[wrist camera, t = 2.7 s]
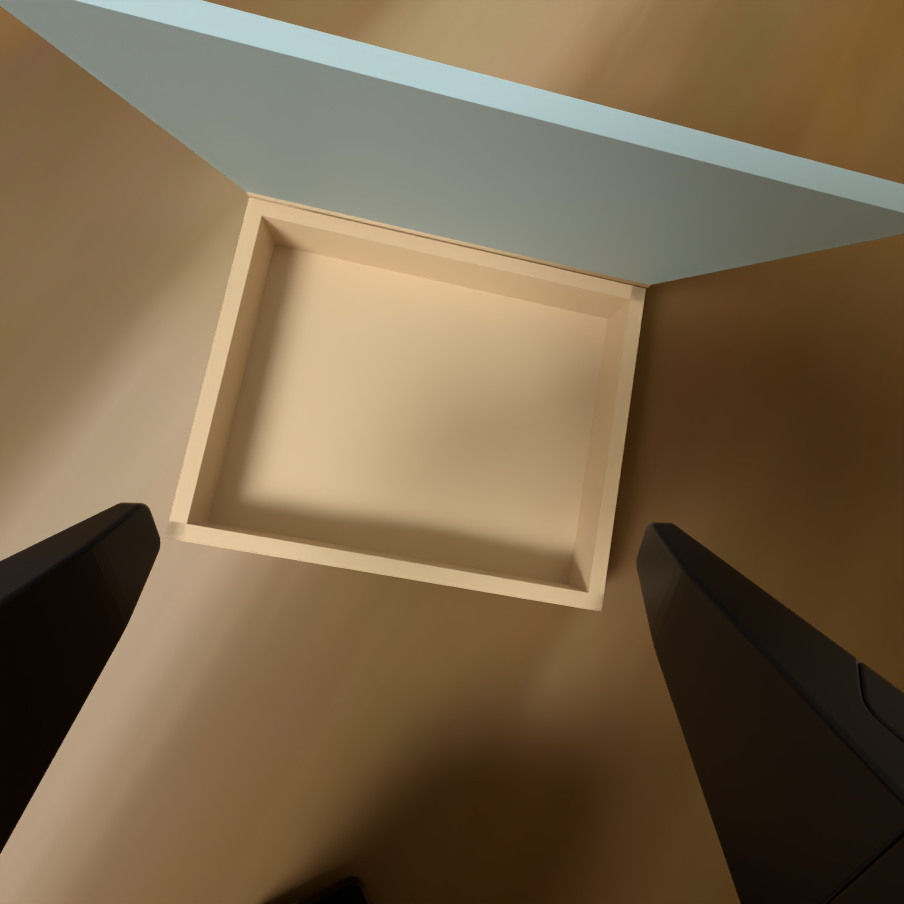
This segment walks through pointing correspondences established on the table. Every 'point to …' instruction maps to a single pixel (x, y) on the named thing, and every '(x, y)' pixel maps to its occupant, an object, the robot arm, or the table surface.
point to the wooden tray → (412, 410)
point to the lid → (459, 147)
